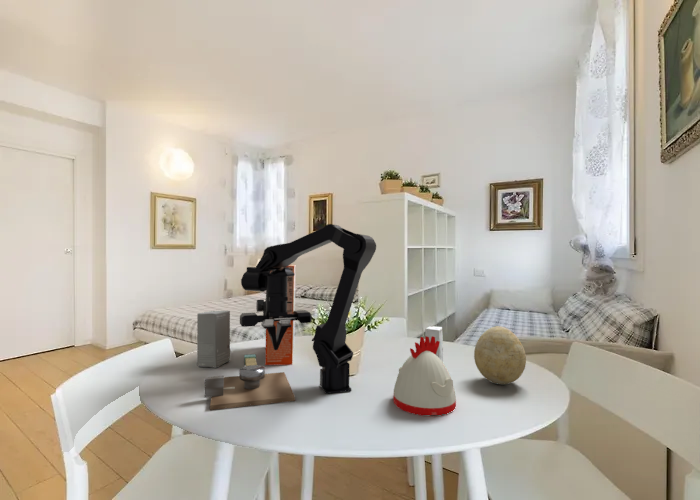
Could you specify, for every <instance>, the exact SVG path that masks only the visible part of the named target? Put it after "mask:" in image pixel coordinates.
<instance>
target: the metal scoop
mask: <svg viewBox="0 0 700 500" xmlns="http://www.w3.org/2000/svg"><path fill="white" fill-rule="evenodd" d="M265 367H266V366H263V365H258V363H257V356H256V353H255V354H244V357H243V366H242V367H240V368H239V372H238V373H239V375H238V376H239V379H240V380H242V381H257V380H261V379H263V378H264V377H265V374H266V368H265Z"/></svg>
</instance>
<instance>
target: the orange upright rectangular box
mask: <svg viewBox="0 0 700 500" xmlns="http://www.w3.org/2000/svg"><path fill="white" fill-rule="evenodd" d="M287 267H289V269H290V270H291V271H292V272H293V273H294V276H287V297H288V301H287V314H293V312H294V311H296V271H297V270H296V267H297V265H296V264H290V265H289V266H287ZM283 268H285V267H282V268H281V269H279V270H282V269H283ZM271 272H272V271H270V273H271ZM295 321H296V320H291V322H290V324H291V327H288V328H287V330H286V332H285V334H284V336H283V338H282V340H281V343H280V345H279V348H278V350H274V348H273V345H272V341H271V338H270V335H269V333H268V331H267V329H265V353H264V354H265V361H264V365H265V366H283V365H284V366H289V365H291V366H292V365H293V361H294V354H295V353H294V351H295V330H296V329H295V327H296V326H295V323H296V322H295ZM277 322H279V321H274V325H275V326H276V333H277Z"/></svg>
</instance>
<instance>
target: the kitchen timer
mask: <svg viewBox="0 0 700 500" xmlns="http://www.w3.org/2000/svg"><path fill="white" fill-rule="evenodd" d="M439 343H440V341H436V343H435V337H433V336H432V337H431V341H429V337H427V336H426V335H425V337H422V336H420V338H419V343H418V342H417V341H416V342H414V347H415V350H414V349H413V348H411V347H410V348H409V351H410V355H409V357H408V358H407V359H406V360H405V361H404V363H402V365H401V367H399V368H398V374H397V376H396V381H395V382H394V388H393V395H392V396H393V399H392V400H393V404H394V405H395V406H396V407H397V408H398V409H399V410H402V411H403V412H406V413H409V414H412V413H413V415H417V414H418V415H417V416H423V415H441V416H443V415H442V414H446V415H448V414H447V413H449V412H451V411H453V410H454V409H455V410H456V408H455V407H456V405H457V404H456V403H457V396H456V395H457V394H456V391H455V387H454V380H453V379H452V377H451V374H450V372H449V370H448V368H447V367H446V365H445V364H444V361H443V362H442V361H441V360H440V358H439V357H438V356H436V353H437V350H438V347H439ZM455 410H454V411H455ZM454 411H453V412H454ZM451 413H452V412H451ZM449 414H450V413H449Z"/></svg>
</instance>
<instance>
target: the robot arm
mask: <svg viewBox="0 0 700 500" xmlns="http://www.w3.org/2000/svg"><path fill="white" fill-rule="evenodd" d="M331 243H334V245H336V246H337V247H340V248H341V249H343V252H342V262H343V270H342V273H341V275H340V279H339V282H338V285H337V288H336V292H335V295H334V299H333V301H332V304H331V308H330V311H329V313H328V317H327V320H326V321H325V322H324V323H322V324H318V325H317V326H316V327H315V330H314V331H315V332H314V336H313V337H312V339H311V342H313V343H312V350H313V351H314V354H315V355H316V358H317V362H318V365H319V367H321V368H320V370H319V386H320V387H321V389H323V392H325V394H335V393H344V392H352V387H351V386H350V363H349V362H350V361H352V359H353V356H354V352H353V350H352V349H351V348H350V346H349V345H348V344H347V343H346V340H347V329H346V327H347V326H346V323H347V320H348V318H349V313H350V310H351V308H352V304H353V301H354V298H355V296H356V291H357V289H358V286H359V283H360V280H361V276H362V273H363V272H364V270H365V269H366V267H367V266H368V265H369V263H370V262H371V261H372V258H373V257H374V255H375V252H376V250H377V243H376V242H375V240H374V238H373V236H370V235H365V234H361V233H360V234H359V233H355V232H354V231H353V232H352V231H350V230H349V229H345V228H343V227H342V226H340V225H337V224H333V223H332V224H331V223H328V224H326V225H324V227H321V228H319V229H317V230H314V231H312V232H310V233H308V234H306V235H304V236H301V237H299V238H298V239H297V238H296V239H295V240H293V241H290V242H287V243H280V244H275V245H271V246H267V247H266V248H265V249H264V250H263V254H262V256H261V258H260V260H259V261H258V262H257V265H256V266H247V267H246V271H245V272H244V273H243V275H242V277H241V279H240V284H241V287H242V289H243V290H244V291H248V292H250V291H251V292H263V293H264V292H265V300H264V299H256V312H258V313H259V312H262V315H261V314H260V315H258V313H256V312H242V313H241V314H240V315H239V325H240V326H241V327H244V328H247V327H255V326H257V324H258V323H260V324H261V327H263V329H265V330H266V329H267V331H268V333H269V335H270V338H271V341H272V345H273V348H274V350H278V348H279V345H280V343H281V340H282V338H283V336H284V334H285V332H286V330H287V328H288V327H291V324H290V322H291V320H295V321H298V322H299V323H300V324H311V323H312V322H313V317H312V313H311V312H310V311H308V310H306V309H304V310H295V311H294V312H293V314H287V301H288V297H287V276H294V273H293V272H292V271H291V270H290V269H289V267H287V266H289V265H292V264H294V262H296V261H297V259H298V258H299V257H300V256H302V255H305V254H307V253H309V252H312V251H314V250H316V249H318V248H322V247H323V246H326V245H328V244H331ZM282 267H285V268H283V269H282V270H279V269H281V268H282ZM270 271H272V272H271V273H270ZM274 321H279V322H277V333H276V326H275V325H274Z"/></svg>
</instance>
